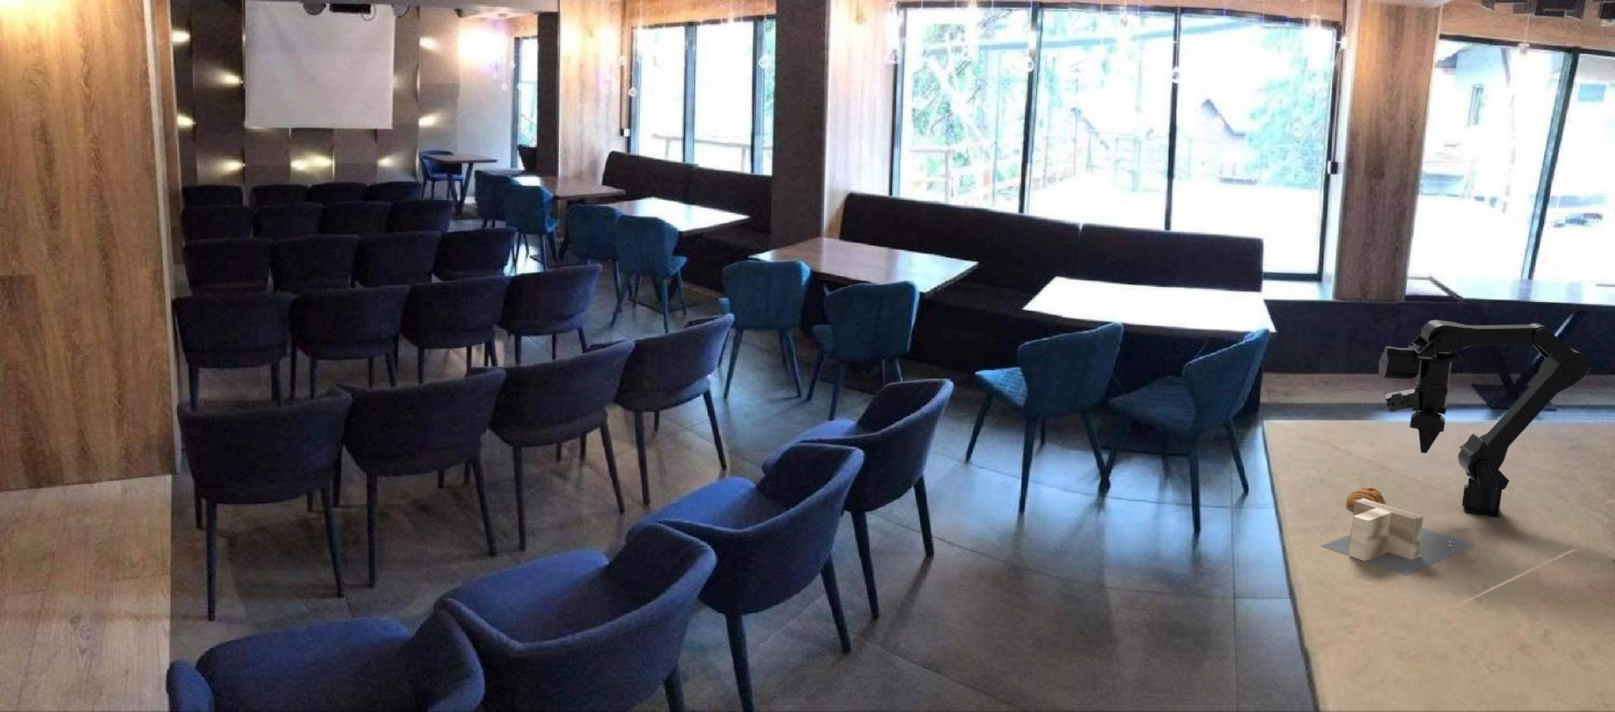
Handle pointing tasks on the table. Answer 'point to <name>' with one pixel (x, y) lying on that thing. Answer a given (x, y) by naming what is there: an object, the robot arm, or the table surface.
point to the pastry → (1364, 496)
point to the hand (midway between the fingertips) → (1423, 452)
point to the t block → (1383, 531)
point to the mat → (1429, 553)
